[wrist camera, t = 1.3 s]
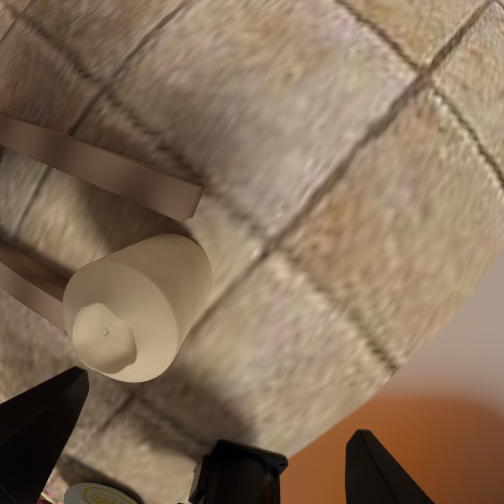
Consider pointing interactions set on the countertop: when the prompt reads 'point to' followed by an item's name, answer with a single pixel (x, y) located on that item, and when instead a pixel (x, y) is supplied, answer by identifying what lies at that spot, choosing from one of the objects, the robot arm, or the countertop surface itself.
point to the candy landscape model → (47, 498)
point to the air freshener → (95, 495)
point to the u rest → (92, 171)
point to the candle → (136, 306)
